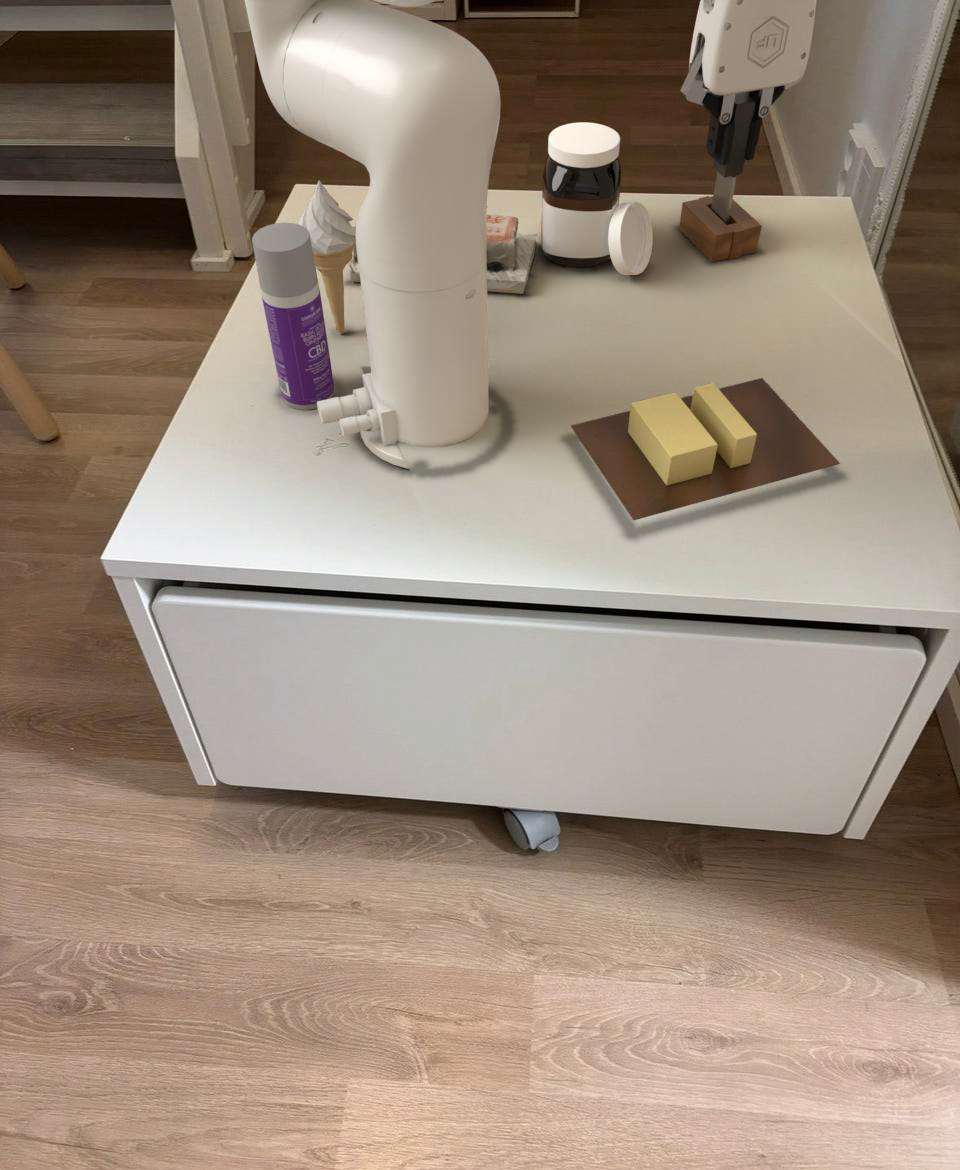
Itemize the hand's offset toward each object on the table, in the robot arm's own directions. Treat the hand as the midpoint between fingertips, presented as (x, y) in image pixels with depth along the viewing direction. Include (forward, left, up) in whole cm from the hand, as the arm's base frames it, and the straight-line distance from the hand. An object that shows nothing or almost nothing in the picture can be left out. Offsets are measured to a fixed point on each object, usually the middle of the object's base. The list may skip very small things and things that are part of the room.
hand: (730, 155), depth 100 cm
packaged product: (-28, +6, -9) cm, 30 cm away
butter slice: (-16, -30, -8) cm, 35 cm away
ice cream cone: (-41, -2, -9) cm, 42 cm away
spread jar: (-13, +2, -9) cm, 16 cm away
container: (-46, -10, -9) cm, 48 cm away
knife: (0, 0, -9) cm, 9 cm away
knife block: (0, 0, -9) cm, 9 cm away
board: (-18, -30, -9) cm, 36 cm away
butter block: (-21, -30, -8) cm, 37 cm away
